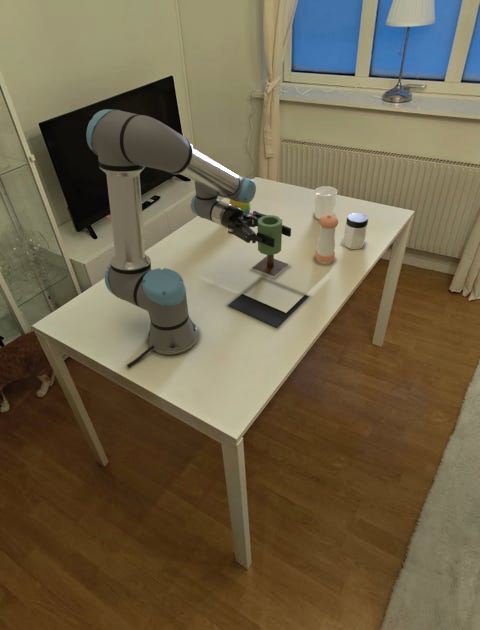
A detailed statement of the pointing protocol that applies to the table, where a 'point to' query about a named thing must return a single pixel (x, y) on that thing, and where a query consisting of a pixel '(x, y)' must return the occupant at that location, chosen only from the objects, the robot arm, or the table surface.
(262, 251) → the hollow cylinder
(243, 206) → the stacking bear
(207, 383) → the table surface
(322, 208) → the candle holder
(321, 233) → the pepper shaker
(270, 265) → the peg stand
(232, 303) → the placemat
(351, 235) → the jar
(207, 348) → the table surface
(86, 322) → the table surface
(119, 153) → the robot arm
